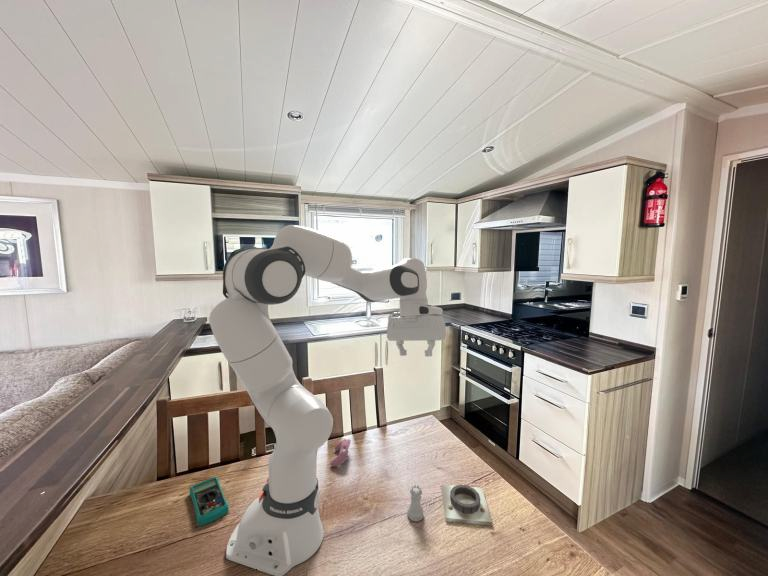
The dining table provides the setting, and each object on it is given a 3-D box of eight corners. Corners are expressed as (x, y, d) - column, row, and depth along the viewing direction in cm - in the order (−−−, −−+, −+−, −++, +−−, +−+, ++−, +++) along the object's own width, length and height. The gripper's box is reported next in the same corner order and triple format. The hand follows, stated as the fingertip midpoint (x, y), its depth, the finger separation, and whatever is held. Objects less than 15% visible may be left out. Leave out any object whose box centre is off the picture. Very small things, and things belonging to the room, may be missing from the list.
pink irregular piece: (341, 472, 103) (351, 455, 102) (329, 466, 102) (338, 449, 102) (345, 453, 112) (354, 437, 112) (334, 447, 112) (342, 431, 111)
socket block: (445, 521, 83) (445, 511, 82) (441, 487, 95) (441, 478, 94) (491, 525, 82) (492, 515, 81) (481, 490, 94) (482, 481, 93)
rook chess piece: (403, 515, 84) (404, 488, 83) (413, 506, 88) (414, 479, 87) (416, 525, 81) (417, 497, 80) (426, 515, 84) (427, 488, 84)
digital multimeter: (198, 530, 79) (198, 519, 79) (189, 494, 91) (189, 485, 91) (229, 515, 84) (229, 505, 84) (217, 483, 96) (217, 474, 95)
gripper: (382, 312, 101) (383, 355, 99) (436, 307, 88) (438, 357, 86) (394, 313, 106) (395, 354, 104) (447, 308, 93) (450, 356, 91)
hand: (415, 355), depth 95 cm, fingers open, 8 cm apart
